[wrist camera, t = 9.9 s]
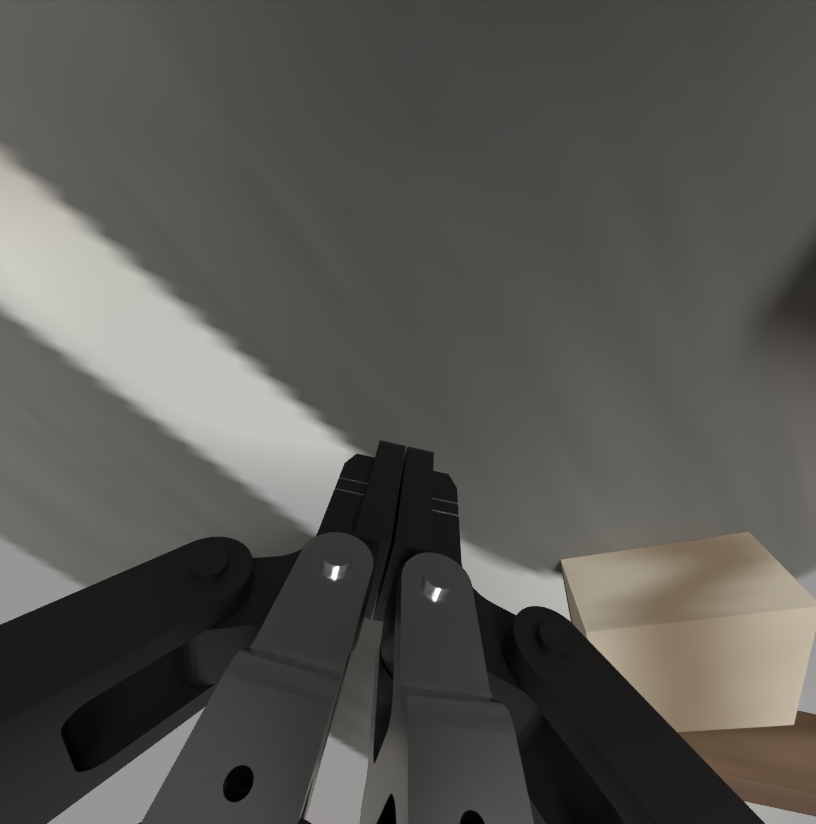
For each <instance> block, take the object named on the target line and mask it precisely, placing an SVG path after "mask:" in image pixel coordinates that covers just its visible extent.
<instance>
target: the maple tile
mask: <svg viewBox="0 0 816 824" xmlns="http://www.w3.org/2000/svg"><path fill="white" fill-rule="evenodd" d="M561 564H562V570H563V575H564V577H563V581H564V587H565V592H566V598H567V602H568V609H569V614H570V620H571V623H572V624H573V625H574V626H575V627H576V628H577V629H578V630H579V631H580V632H581V633H582V634H583V635H584V636H585V637H586V638H587V639H588V640H589V641H590V642H591V643H592V644H593V646H594V647H595V648H596V649H597V650H598V651H599V652H600V653H601V654H602V655H603V656H604V657H605V658H606V659H607V660H608V661H609V662H610V663H611V664H612V665H613V666H614V667H615V668H616V669H617V670H618V671H619V673H620V674H621V675H622V676H623V677H624V678H625V679H626V680H627V681H628V682H629V683H630V684H631V685H632V686H633V687H634V688H635V689H636V690H637V691H638V692H639V693H640V694H641V695H642V696H643V697H644V698H645V700H646V701H647V702H648V703H649V704H650V705H651V706H652V707H653V708H654V709H655V710H656V711H657V712H658V713H659V714H660V715H661V716H662V717H663V718H664V719H665V720H666V721H667V722H668V723H669V724H670V725H671V727H672V728H673V729H674V730H675V731H676V732H688V731H704V730H720V729H736V728H753V727H769V726H785V725H794V723H795V718H796V714H797V710H798V705H799V701H800V696H801V692H802V688H803V684H804V679H805V675H806V670H807V666H808V662H809V657H810V653H811V649H812V644H813V640H814V636H815V632H816V600H815V599H814V598H813V597H812V596H811V595H810V594H809V593H808V592H807V591H806V590H805V588H803V586H802V585H801V584H800V583H799V582H798V581H797V580H796V579H795V578H794V577H793V576H792V575H791V574H790V573H789V572H788V571H787V570H786V569H785V568H784V567H783V566H782V565H781V564H780V563H779V562H778V561H777V560H776V559H775V558H774V557H773V556H772V555H771V554H770V553H769V552H768V551H767V550H766V549H765V548H764V547H763V546H762V545H761V544H760V543H759V542H758V540H757V539H756V538H755V537H754V536H753V535H752V534H751V533H750V532H744V533H737V534H731V535H724V536H717V537H710V538H704V539H697V540H690V541H684V542H677V543H670V544H663V545H657V546H650V547H643V548H637V549H630V550H623V551H616V552H610V553H603V554H596V555H590V556H583V557H576V558H569V559H563V560H561Z"/></svg>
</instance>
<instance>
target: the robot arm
mask: <svg viewBox="0 0 816 824" xmlns="http://www.w3.org/2000/svg"><path fill="white" fill-rule="evenodd" d="M404 454H405V457H404ZM433 457H434V453H433V452H430V451H426V450H421V449H417V448H413V447H407V450H406V453H405V446H403V445H399V444H394V443H390V442H386V441H381V440H380V442H379V445H378V449H377V453H376V456H375V458H373V457H369V456H365V455H360V454H356V455H354V456H353V457H352V458H351V459H349V460H348V461H347V462H346V463H345V464H344V466H343V469H342V472H341V474H340V477H339V479H338V482H337V484H336V487H335V490H334V492H333V495H332V497H331V500H330V502H329V505H328V508H327V510H326V513H325V515H324V518H323V520H322V523H321V525H320V528H319V531H318V533H317V535H316V537H314V538H313V539H311V540H310V541H309V542H308V543H307V544H306V545H305V546H304V547H303V549H301V550H299V551H297V552H295V553H292V554H288V555H284V556H277V557H263V558H252V555H251V553H250V551H249V549H248V548H247V547H246V546H245V545H244V544H242V543H241V542H239V541H237V540H235V539H231V538H227V537H209V538H204V539H200V540H197V541H194V542H191V543H189V544H187V545H184V546H182V547H180V548H177V549H175V550H173V551H170V552H168V553H166V554H163V555H161V556H159V557H157V558H154V559H152V560H150V561H147V562H145V563H143V564H140V565H138V566H136V567H133V568H131V569H129V570H126V571H124V572H122V573H119V574H117V575H115V576H112V577H110V578H108V579H105V580H103V581H101V582H99V583H96V584H94V585H92V586H89V587H87V588H85V589H82V590H80V591H78V592H75V593H73V594H71V595H68V596H66V597H64V598H61V599H59V600H57V601H55V602H52V603H50V604H48V605H45V606H43V607H41V608H38V609H36V610H34V611H31V612H29V613H27V614H24V615H22V616H20V617H17V618H15V619H13V620H10V621H8V622H6V623H3V624H1V625H0V824H47V823H48V822H49V821H51V820H52V819H54V818H55V817H56V816H58V815H59V814H60V813H62V812H63V811H64V810H66V809H67V808H68V807H70V806H71V805H72V804H74V803H75V802H77V801H78V800H79V799H81V798H82V797H83V796H85V795H86V794H87V793H89V792H90V791H91V790H93V789H94V788H96V787H97V786H98V785H100V784H101V783H102V782H104V781H105V780H106V779H108V778H109V777H111V776H112V775H113V774H115V773H116V772H117V771H119V770H120V769H121V768H123V767H124V766H125V765H127V764H128V763H130V762H131V761H132V760H134V759H135V758H136V757H137V756H139V755H140V754H142V753H143V752H144V751H146V750H147V749H149V748H150V747H151V746H153V745H154V744H155V743H157V742H158V741H159V740H161V739H162V738H163V737H165V736H166V735H167V734H169V733H170V732H172V731H173V730H174V729H175V728H177V727H178V726H180V725H181V724H182V723H184V722H185V721H186V720H188V719H189V718H191V717H192V716H193V715H195V714H196V713H197V712H199V711H200V710H201V709H203V708H204V707H205V706H206V707H205V709H204V711H203V713H202V714H201V716H200V718H199V720H198V721H197V723H196V725H195V727H194V729H193V730H192V732H191V734H190V736H189V738H188V739H187V741H186V743H185V745H184V747H183V749H182V750H181V752H180V754H179V756H178V758H177V760H176V761H175V763H174V765H173V767H172V768H171V770H170V772H169V774H168V776H167V777H166V779H165V781H164V783H163V785H162V787H161V788H160V790H159V792H158V794H157V796H156V797H155V799H154V801H153V803H152V805H151V806H150V808H149V810H148V812H147V814H146V815H145V817H144V819H143V821H142V822H141V823H139V824H311V823H310V822H308V821H306V820H305V819H306V815H307V811H308V807H309V804H310V801H311V797H312V793H313V790H314V786H315V782H316V778H317V775H318V770H319V767H320V764H321V760H322V756H323V753H324V749H325V745H326V742H327V738H328V735H329V731H330V728H331V724H332V721H333V717H334V714H335V710H336V706H337V703H338V699H339V696H340V692H341V689H342V685H343V682H344V678H345V674H346V671H347V667H348V664H349V660H350V657H351V653H352V652H353V650H354V649H355V647H356V645H357V642H358V638H359V634H360V630H361V627H362V623H363V619H364V618H368V619H370V618H371V615H372V611H373V607H374V604H375V600H376V596H377V601H376V607H375V613H374V620H379V621H383V622H384V623H383V630H382V637H381V642H380V646H379V649H378V652H377V656H376V664H375V678H374V692H373V706H372V719H371V733H370V747H369V761H368V771H367V778H366V785H365V790H364V795H363V801H362V808H361V817H360V824H765V823H764V822H763V821H762V820H761V819H760V818H759V817H758V816H757V815H756V814H755V813H754V812H753V811H752V810H751V809H750V808H749V806H748V805H746V804H745V802H744V801H743V800H742V799H741V798H740V797H739V796H738V795H737V794H736V793H735V792H734V791H733V790H732V789H731V788H730V787H729V786H728V785H727V784H726V783H725V782H724V781H723V779H722V778H721V777H720V776H719V775H718V774H717V773H716V772H715V771H714V770H713V769H712V768H711V767H710V766H709V765H708V764H707V763H706V762H705V761H704V760H703V759H702V758H701V757H700V756H699V755H698V754H697V752H696V751H695V750H694V749H693V748H692V747H691V746H690V745H689V744H688V743H687V742H686V741H685V740H684V739H683V738H682V737H681V736H680V735H679V734H678V733H677V732H676V731H675V730H674V729H673V728H672V727H671V725H670V724H669V723H668V722H667V721H666V720H665V719H664V718H663V717H662V716H661V715H660V714H659V713H658V712H657V711H656V710H655V709H654V708H653V707H652V706H651V705H650V704H649V703H648V702H647V701H646V700H645V698H644V697H643V696H642V695H641V694H640V693H639V692H638V691H637V690H636V689H635V688H634V687H633V686H632V685H631V684H630V683H629V682H628V681H627V680H626V679H625V678H624V677H623V676H622V675H621V674H620V673H619V671H618V670H617V669H616V668H615V667H614V666H613V665H612V664H611V663H610V662H609V661H608V660H607V659H606V658H605V657H604V656H603V655H602V654H601V653H600V652H599V651H598V650H597V649H596V648H595V647H594V646H593V644H592V643H591V642H590V641H589V640H588V639H587V638H586V637H585V636H584V635H583V634H582V633H581V632H580V631H579V630H578V629H577V628H576V627H575V626H574V625H573V624H572V623H571V622H570V621H569V620H567V619H566V618H565V617H564V616H562V615H560V614H559V613H557V612H555V611H553V610H551V609H548V608H545V607H539V606H531V607H527V608H525V609H523V610H521V611H520V612H519V613H518V614H517V616H516V615H514V614H512V613H510V612H509V611H507V610H505V609H503V608H501V607H499V606H497V605H495V604H493V603H492V602H490V601H488V600H486V599H485V598H484V597H482V596H481V595H480V594H479V593H478V592H477V591H476V590H475V589H474V588H473V587H472V584H471V581H470V578H469V576H468V575H467V573H466V571H465V570H464V569H463V568H462V563H461V548H460V532H459V517H458V505H457V503H458V499H457V488H456V486H455V484H454V483H453V481H452V479H451V478H450V476H449V474H445V473H441V472H436V471H433ZM403 460H404V461H403ZM377 593H378V595H377Z"/></svg>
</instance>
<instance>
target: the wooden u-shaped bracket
mask: <svg viewBox="0 0 816 824" xmlns="http://www.w3.org/2000/svg"><path fill="white" fill-rule="evenodd" d="M677 733H678V734H679V735H680V736H681V737H682V738H683V739H684V740H685V741H686V742H687V743H688V744H689V745H690V746H691V747H692V748H693V749H694V750H695V751H696V752H697V754H698V755H699V756H700V757H701V758H702V759H703V760H704V761H705V762H706V763H707V764H708V765H709V766H710V767H711V768H712V769H713V770H714V771H715V772H716V773H717V774H718V775H719V776H720V777H721V778H722V779H723V781H724V782H725V783H726V784H727V785H728V786H729V787H730V788H731V789H732V790H733V791H734V792H735V793H736V794H737V795H738V796H739V797H740V798H741V799H742V800H743V801H746V802H750V803H755V804H760V805H765V806H770V807H774V808H779V809H784V810H788V811H793V812H798V813H802V814H807V815H812V816H816V715H815V714H811V713H806V712H802V711H797V714H796V718H795V723H794V725H785V726H769V727H753V728H736V729H720V730H704V731H688V732H677Z"/></svg>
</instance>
